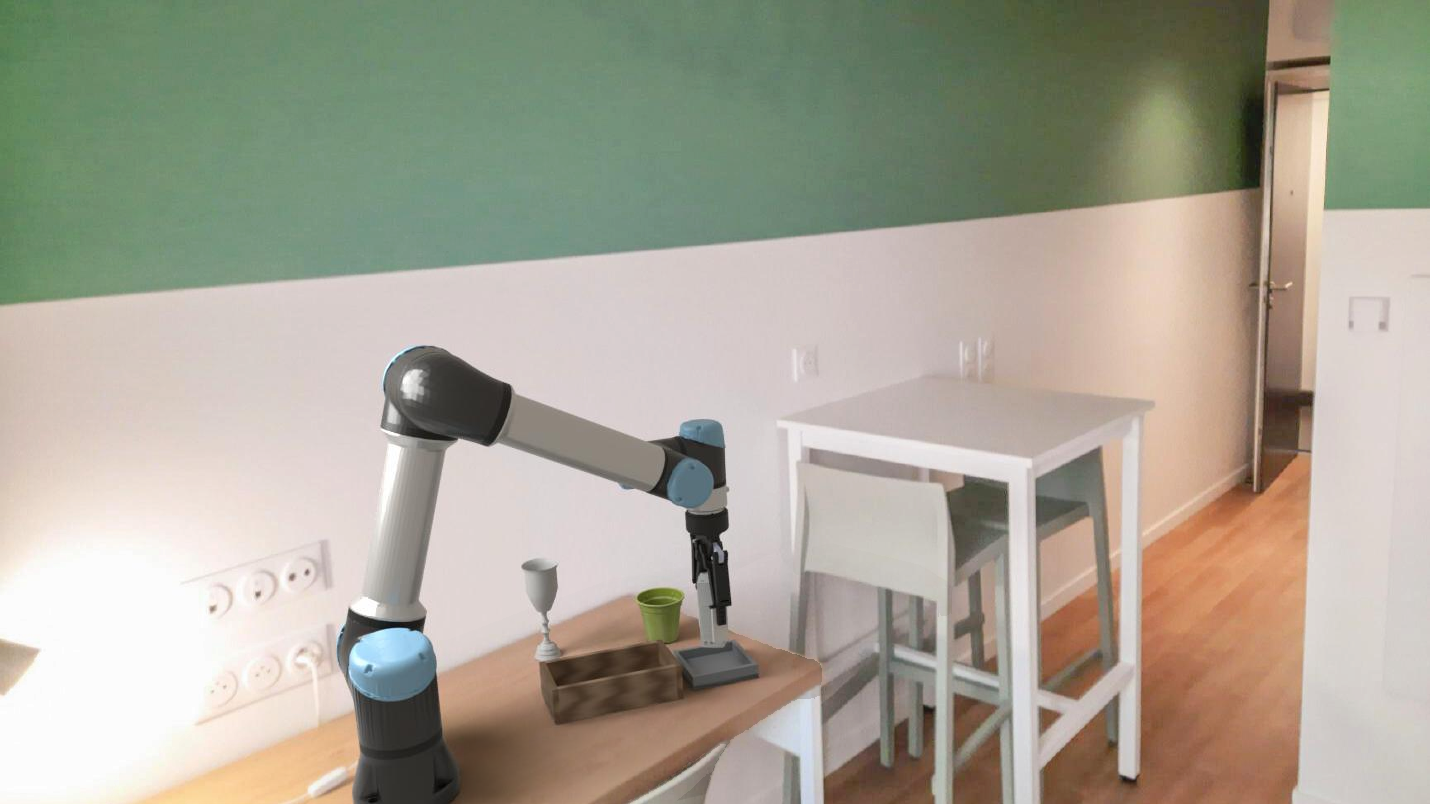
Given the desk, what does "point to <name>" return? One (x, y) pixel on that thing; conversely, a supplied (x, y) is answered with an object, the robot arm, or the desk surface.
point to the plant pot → (661, 613)
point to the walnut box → (610, 681)
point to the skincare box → (706, 612)
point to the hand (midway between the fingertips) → (713, 632)
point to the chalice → (542, 599)
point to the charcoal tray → (716, 665)
